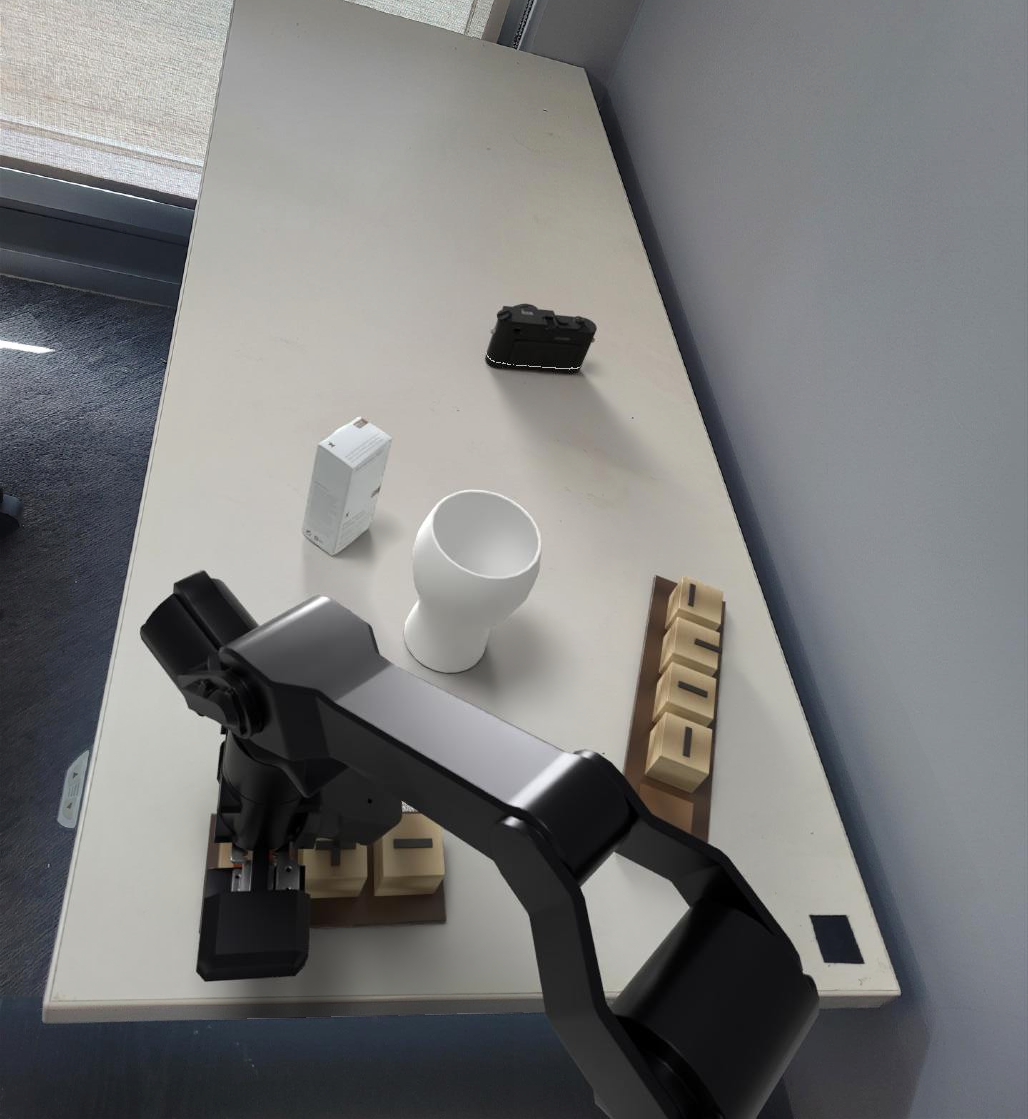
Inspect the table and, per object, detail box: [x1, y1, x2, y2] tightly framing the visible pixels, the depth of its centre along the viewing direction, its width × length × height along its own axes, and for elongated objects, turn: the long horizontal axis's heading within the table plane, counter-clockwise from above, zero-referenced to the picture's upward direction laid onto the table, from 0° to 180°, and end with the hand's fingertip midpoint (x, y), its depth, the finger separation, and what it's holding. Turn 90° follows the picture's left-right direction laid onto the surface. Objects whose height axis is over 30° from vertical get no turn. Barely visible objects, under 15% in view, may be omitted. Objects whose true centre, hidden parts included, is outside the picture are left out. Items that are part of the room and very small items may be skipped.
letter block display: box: [621, 574, 727, 844], centre depth 84 cm, size 30×8×4 cm, turn 165°
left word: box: [198, 810, 447, 935], centre depth 65 cm, size 17×8×4 cm, turn 97°
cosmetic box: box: [301, 416, 393, 557], centre depth 85 cm, size 6×4×12 cm
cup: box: [403, 489, 543, 674], centre depth 79 cm, size 11×11×15 cm
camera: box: [484, 303, 598, 375], centre depth 117 cm, size 14×7×8 cm, turn 103°
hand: (250, 864), depth 64 cm, fingers closed on letter s tile, 4 cm apart
